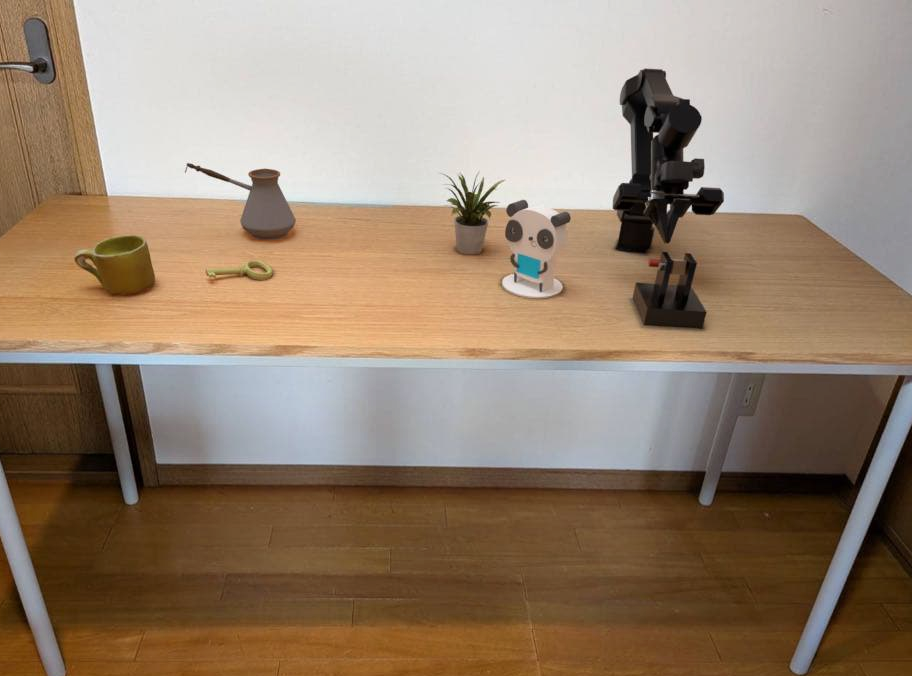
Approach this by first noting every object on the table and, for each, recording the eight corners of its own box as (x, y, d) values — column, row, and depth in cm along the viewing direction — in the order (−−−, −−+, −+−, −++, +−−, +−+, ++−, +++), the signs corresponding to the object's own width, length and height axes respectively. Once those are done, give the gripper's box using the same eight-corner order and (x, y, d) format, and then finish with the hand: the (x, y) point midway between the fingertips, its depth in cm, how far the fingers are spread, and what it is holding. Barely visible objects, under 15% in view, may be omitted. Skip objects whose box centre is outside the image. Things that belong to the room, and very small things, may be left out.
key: (203, 280, 138) (201, 269, 136) (259, 264, 145) (258, 253, 144) (224, 292, 133) (223, 281, 132) (281, 275, 141) (280, 265, 140)
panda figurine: (487, 283, 141) (494, 205, 133) (523, 268, 148) (531, 193, 140) (538, 303, 134) (549, 223, 126) (574, 286, 141) (586, 209, 133)
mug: (170, 264, 138) (145, 220, 130) (157, 302, 132) (130, 258, 124) (108, 272, 140) (80, 230, 132) (93, 310, 133) (63, 268, 126)
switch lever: (647, 269, 137) (649, 255, 136) (677, 270, 136) (679, 257, 136) (661, 273, 127) (663, 259, 126) (694, 275, 127) (696, 261, 126)
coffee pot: (296, 224, 164) (291, 154, 156) (296, 243, 155) (292, 170, 147) (196, 226, 161) (186, 155, 153) (190, 245, 152) (180, 171, 144)
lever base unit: (632, 300, 137) (643, 243, 132) (686, 303, 137) (700, 247, 131) (643, 326, 128) (656, 267, 122) (701, 330, 128) (717, 271, 122)
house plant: (418, 254, 152) (420, 174, 143) (442, 233, 163) (446, 157, 154) (484, 267, 148) (491, 185, 139) (505, 244, 159) (512, 167, 150)
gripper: (627, 136, 130) (626, 219, 127) (735, 142, 129) (737, 225, 126) (612, 169, 141) (611, 246, 138) (712, 175, 140) (713, 252, 137)
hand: (667, 242), depth 134 cm, fingers closed
